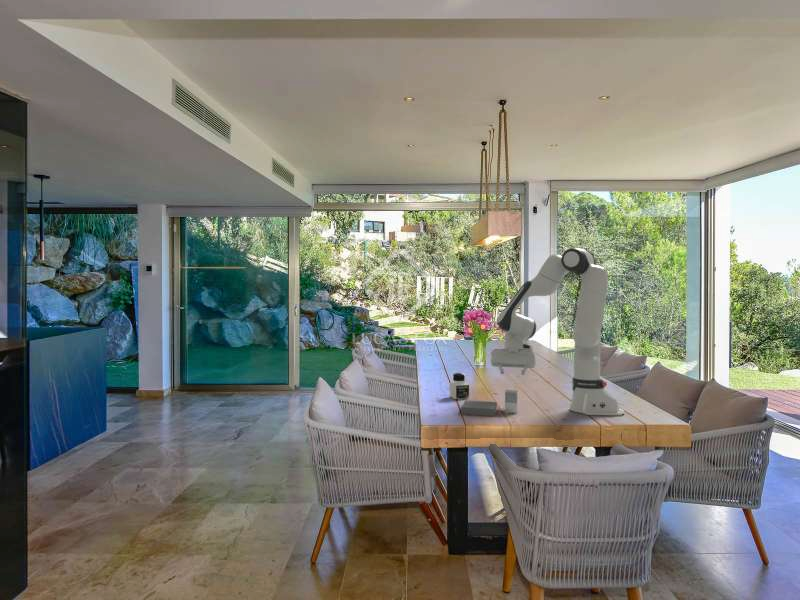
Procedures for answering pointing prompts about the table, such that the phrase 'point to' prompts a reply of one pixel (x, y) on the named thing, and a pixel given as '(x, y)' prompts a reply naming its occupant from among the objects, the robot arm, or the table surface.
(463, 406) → the charcoal stand
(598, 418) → the table surface
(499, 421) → the table surface
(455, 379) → the medicine bottle
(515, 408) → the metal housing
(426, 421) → the table surface
